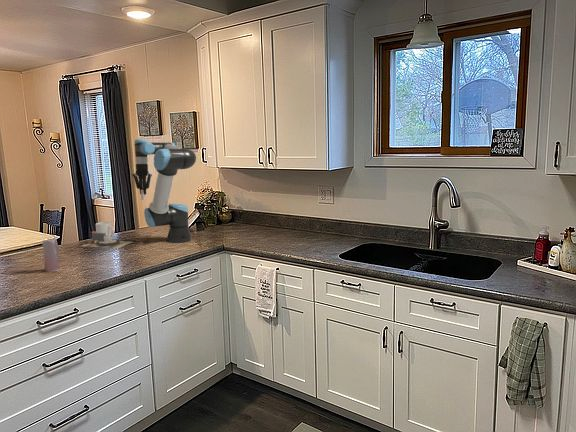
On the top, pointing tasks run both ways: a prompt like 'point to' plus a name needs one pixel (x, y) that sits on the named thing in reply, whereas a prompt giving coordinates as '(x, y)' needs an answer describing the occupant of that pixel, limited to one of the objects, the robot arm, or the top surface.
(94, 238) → the dial
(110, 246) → the board
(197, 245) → the top surface
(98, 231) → the mug
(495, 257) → the top surface
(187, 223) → the robot arm
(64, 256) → the top surface
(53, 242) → the beverage can
